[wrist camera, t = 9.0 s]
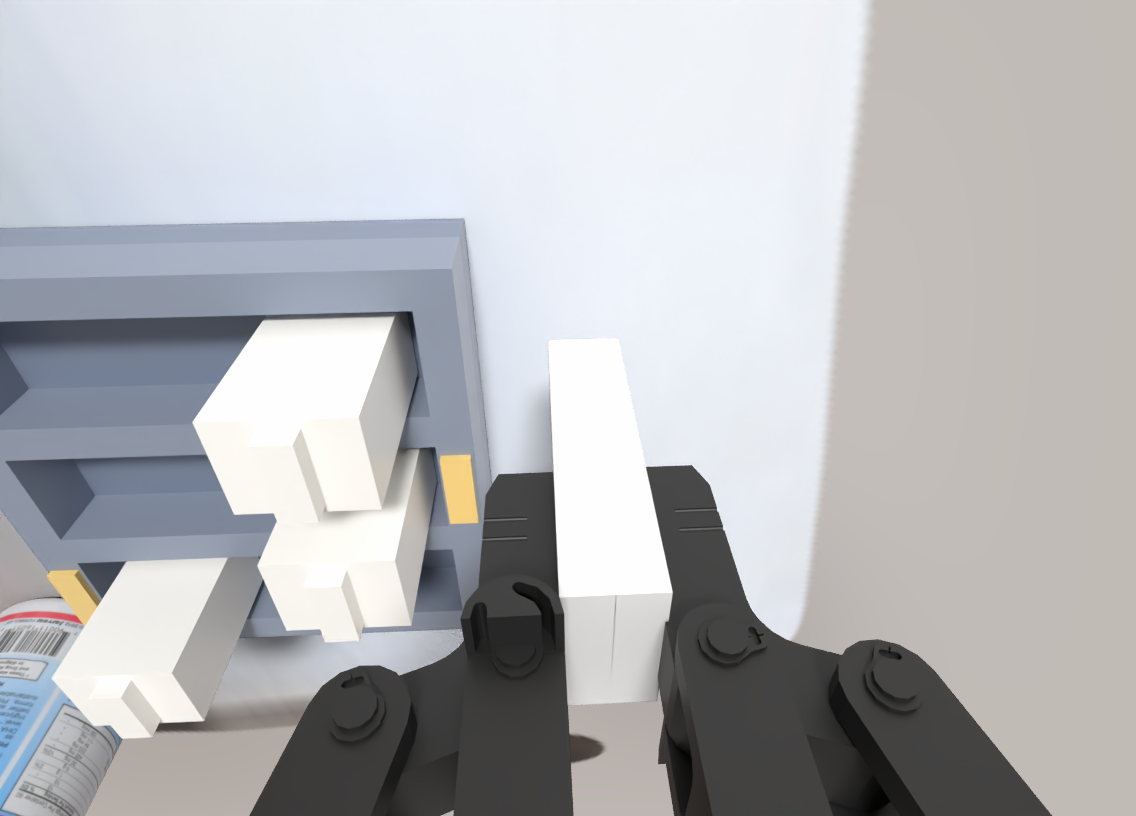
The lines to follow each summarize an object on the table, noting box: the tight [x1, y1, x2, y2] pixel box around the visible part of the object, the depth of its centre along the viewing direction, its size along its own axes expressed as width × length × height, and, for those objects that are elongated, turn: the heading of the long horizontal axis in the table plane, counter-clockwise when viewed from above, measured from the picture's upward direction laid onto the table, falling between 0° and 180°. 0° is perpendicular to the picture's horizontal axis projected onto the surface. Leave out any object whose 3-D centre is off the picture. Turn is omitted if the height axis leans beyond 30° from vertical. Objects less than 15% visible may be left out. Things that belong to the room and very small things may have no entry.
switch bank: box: [0, 219, 492, 638], centre depth 19 cm, size 13×13×3 cm
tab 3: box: [257, 447, 437, 642], centre depth 17 cm, size 3×2×6 cm
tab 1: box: [51, 557, 263, 739], centre depth 19 cm, size 3×2×6 cm
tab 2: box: [192, 311, 418, 524], centre depth 14 cm, size 3×2×6 cm
